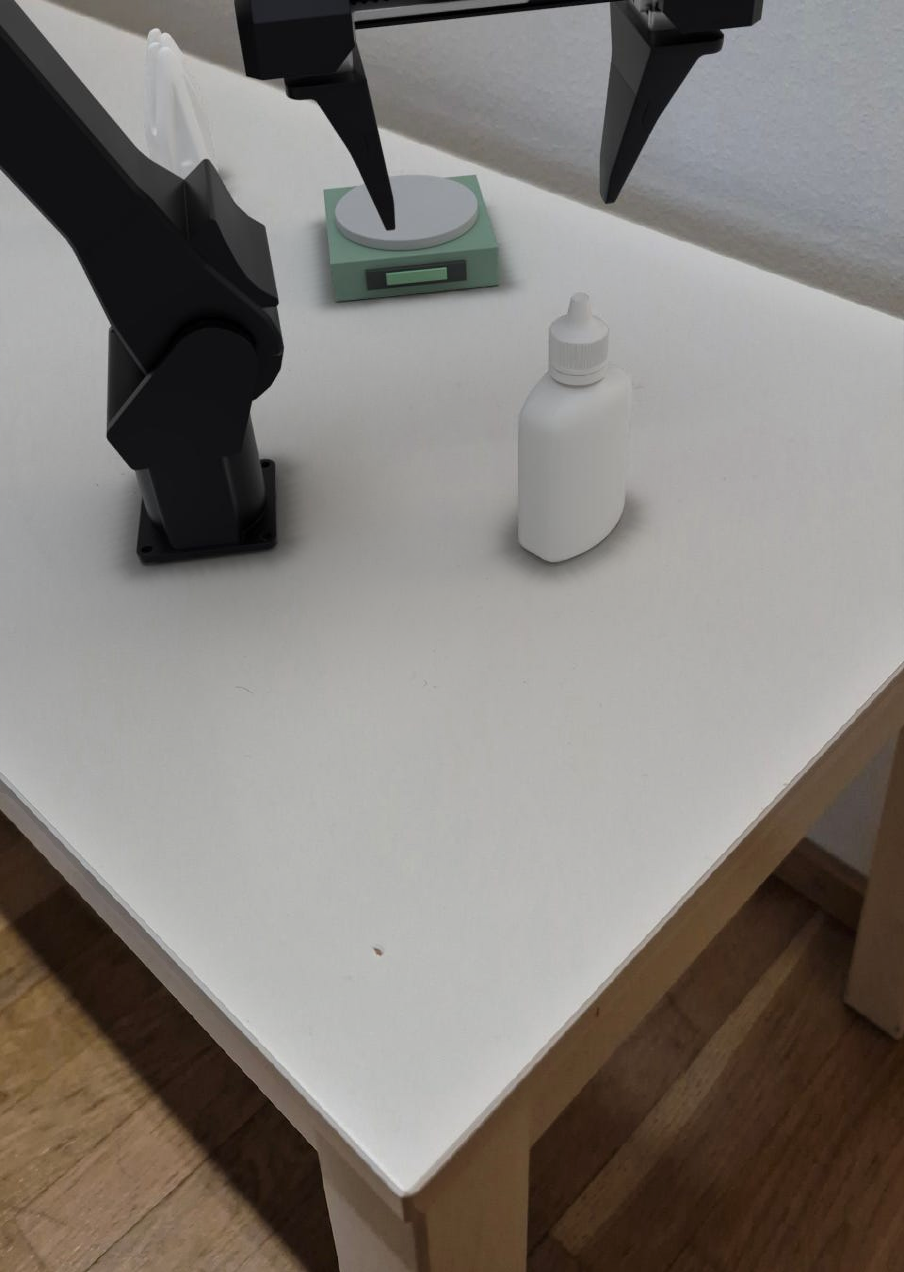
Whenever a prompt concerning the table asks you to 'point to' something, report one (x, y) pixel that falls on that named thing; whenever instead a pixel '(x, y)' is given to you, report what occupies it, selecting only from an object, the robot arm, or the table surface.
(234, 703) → the table surface
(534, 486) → the eye dropper bottle
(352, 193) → the kitchen scale
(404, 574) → the table surface
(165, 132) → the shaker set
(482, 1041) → the table surface
